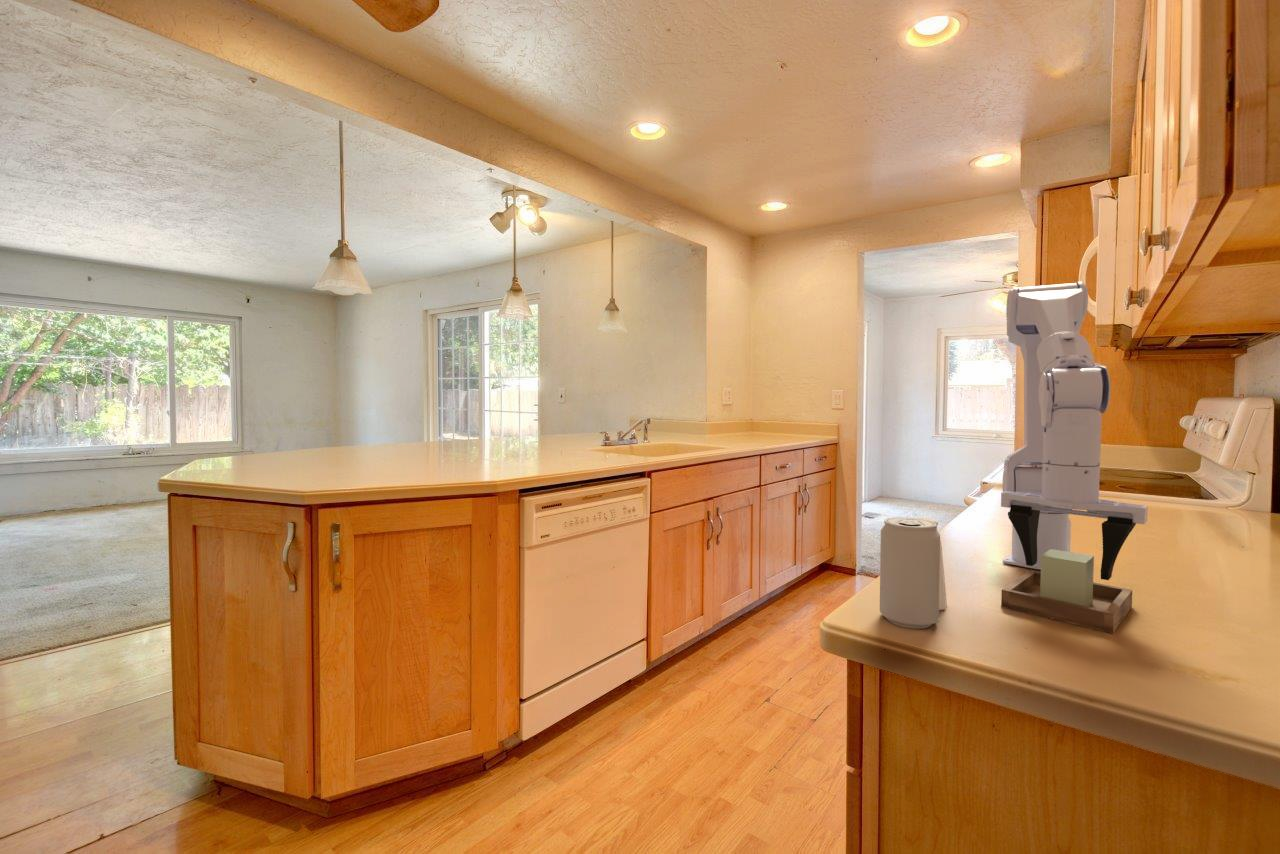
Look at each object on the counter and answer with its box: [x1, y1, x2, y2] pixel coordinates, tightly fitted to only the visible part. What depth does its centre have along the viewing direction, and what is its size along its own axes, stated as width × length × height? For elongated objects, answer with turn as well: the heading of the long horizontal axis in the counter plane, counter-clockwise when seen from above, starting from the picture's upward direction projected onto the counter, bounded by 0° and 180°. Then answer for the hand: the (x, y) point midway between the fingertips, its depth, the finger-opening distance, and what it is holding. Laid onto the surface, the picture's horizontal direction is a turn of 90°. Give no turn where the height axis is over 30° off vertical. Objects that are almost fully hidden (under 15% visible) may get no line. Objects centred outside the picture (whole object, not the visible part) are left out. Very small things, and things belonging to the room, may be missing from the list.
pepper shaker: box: [917, 517, 948, 611], centre depth 72 cm, size 5×5×11 cm
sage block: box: [1040, 549, 1095, 607], centre depth 71 cm, size 4×4×6 cm
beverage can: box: [879, 516, 941, 630], centre depth 67 cm, size 6×6×12 cm
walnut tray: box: [1000, 570, 1133, 634], centre depth 71 cm, size 12×11×2 cm
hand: (1067, 570), depth 71 cm, fingers open, 7 cm apart
